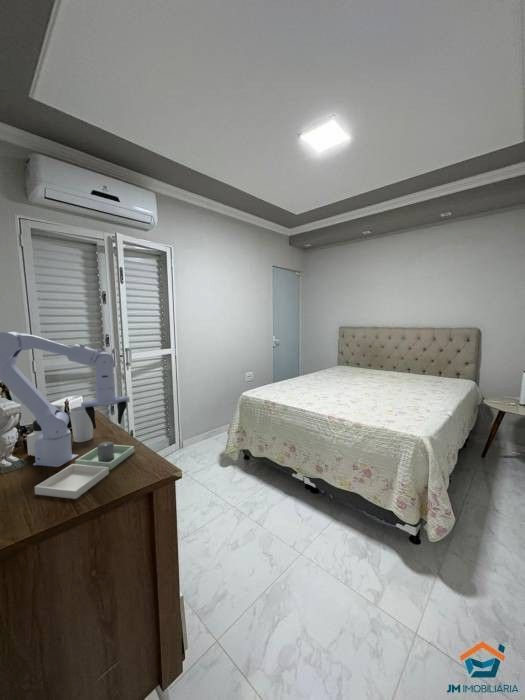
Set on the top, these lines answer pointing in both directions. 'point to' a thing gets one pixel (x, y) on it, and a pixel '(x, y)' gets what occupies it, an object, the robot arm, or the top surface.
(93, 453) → the bin
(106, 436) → the top surface
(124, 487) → the top surface
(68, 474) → the bin
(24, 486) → the top surface
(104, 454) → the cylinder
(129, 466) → the top surface
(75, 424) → the cup
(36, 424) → the medicine bottle
